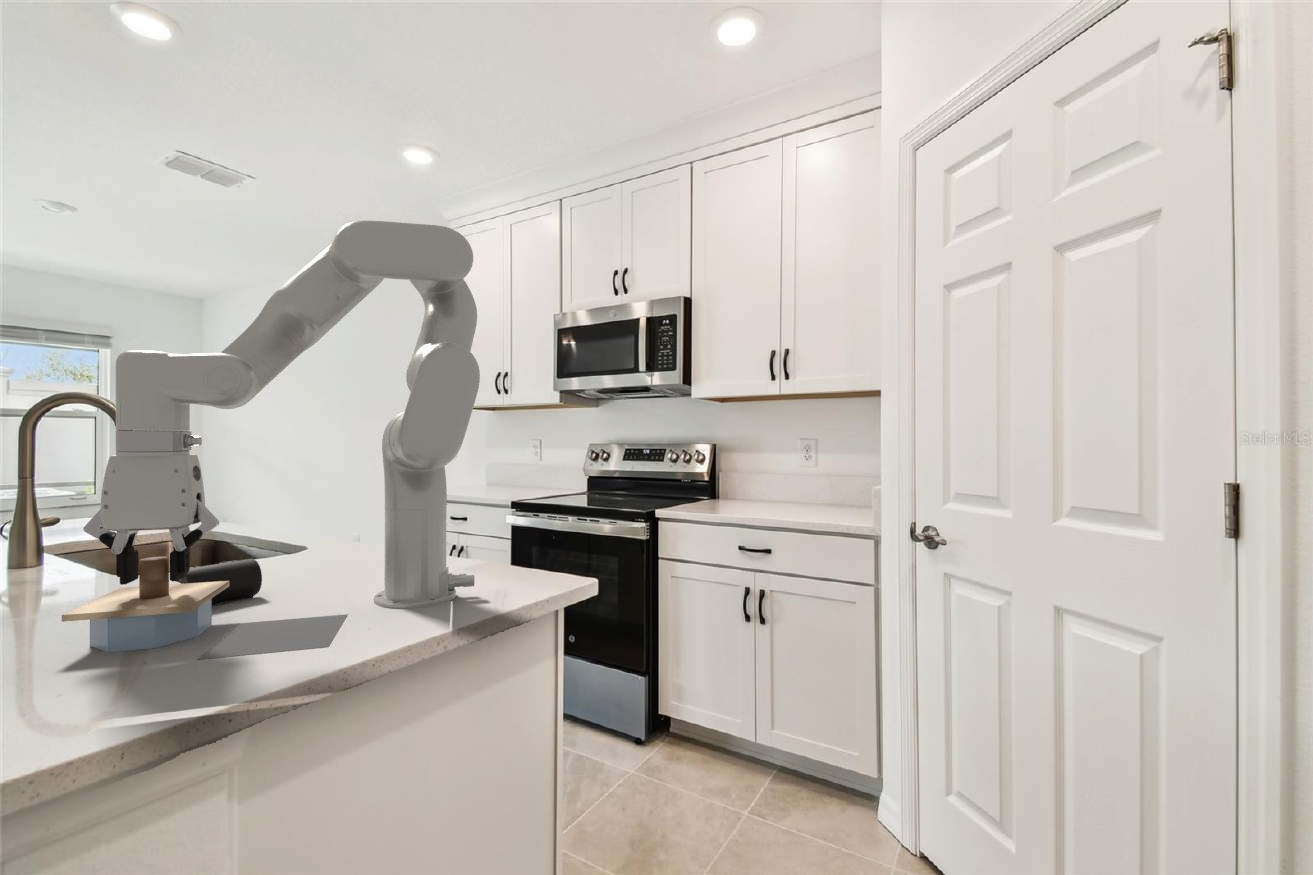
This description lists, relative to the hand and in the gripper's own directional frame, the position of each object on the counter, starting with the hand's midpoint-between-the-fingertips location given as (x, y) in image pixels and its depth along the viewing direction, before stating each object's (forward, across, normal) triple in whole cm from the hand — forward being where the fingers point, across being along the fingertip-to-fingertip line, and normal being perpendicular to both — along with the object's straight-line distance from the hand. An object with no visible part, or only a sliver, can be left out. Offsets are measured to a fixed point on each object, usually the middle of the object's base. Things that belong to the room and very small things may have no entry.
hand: (153, 579), depth 79 cm
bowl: (+8, 0, 0) cm, 8 cm away
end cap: (+8, -2, -16) cm, 18 cm away
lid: (+3, 0, 0) cm, 3 cm away
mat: (+8, -16, +5) cm, 19 cm away
